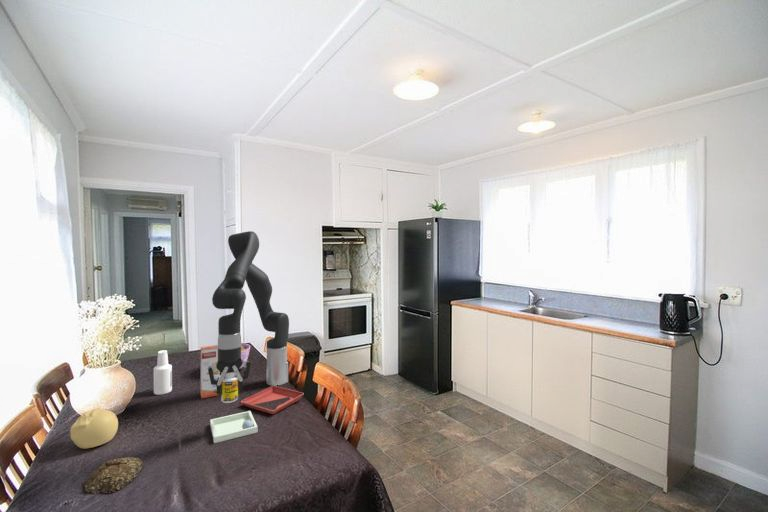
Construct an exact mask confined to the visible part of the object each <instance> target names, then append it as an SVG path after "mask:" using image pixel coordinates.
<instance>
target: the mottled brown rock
mask: <svg viewBox="0 0 768 512" xmlns="http://www.w3.org/2000/svg"><path fill="white" fill-rule="evenodd" d="M144 466H145V463H144V461H143V460H141V459H140V458H139V457H137V458H136V457H133V456H130V457H129V456H127V457H125V456H124V457H120V458H119V457H118V458H114V459H110V460H107V461H105V462H104V463H102V464H101V465H100V466H98V467H96V469H95V470H93V472H91V473H90V474H89V476H87V478H86V479H85V481H84V483H83V487H84V491H85V492H87V493H90V492H92V493H91V494H97V493H96V492H102V493H101V494H105V493H108V494H110V493H109V492H113V493H116V492H118V491H117V490H119V491H120V490H121V489H123V488H125V487H126V486H127V485H128V484H130V483H132V482H133V481H134V479H135V478H136V477H138V475H139V474H140V472H141V470H142V469H143V468H144ZM115 491H116V492H115ZM94 492H95V493H94Z"/></svg>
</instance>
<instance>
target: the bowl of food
mask: <svg viewBox="0 0 768 512" xmlns="http://www.w3.org/2000/svg"><path fill="white" fill-rule="evenodd" d="M250 349H251V345H250V344H248V343H243V342H241V360H242V361H247V360H248V358H249V355H250ZM242 368H244V366H243V364H242V366H241V367H240V368H239V370H241V369H242Z"/></svg>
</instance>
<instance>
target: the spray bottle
mask: <svg viewBox="0 0 768 512" xmlns="http://www.w3.org/2000/svg"><path fill="white" fill-rule="evenodd" d="M168 355H169V354H168V350H165V349H164V350H162V349H161V350H159V351H157V362H156V365H155V366H154V367H153V394H154V395H156V396H157V395H159V396H160V395H165V394H168V393H171V392H172V391H173V365H172V364H169V356H168Z"/></svg>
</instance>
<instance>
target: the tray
mask: <svg viewBox="0 0 768 512" xmlns="http://www.w3.org/2000/svg"><path fill="white" fill-rule="evenodd" d="M246 420H250V421H252V423H253V427H250V428H246V429H243V428H242V425H243V423H244V422H245V421H246ZM209 423H210V424H209V425H210V432H211V435H212V439H213V444H217V443H222V442H225V441H228V440H233V439H236V438H241V437H244V436H249V435H252V434H256V433H258V432H259V430H258V424H257V423H256V421H255V418H254V416H253V414H252V411H251V410H247V411H244V412H243V411H242V412H238V413H233V414H230V415H226V416H220V417H216V418H211V419H209Z"/></svg>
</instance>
